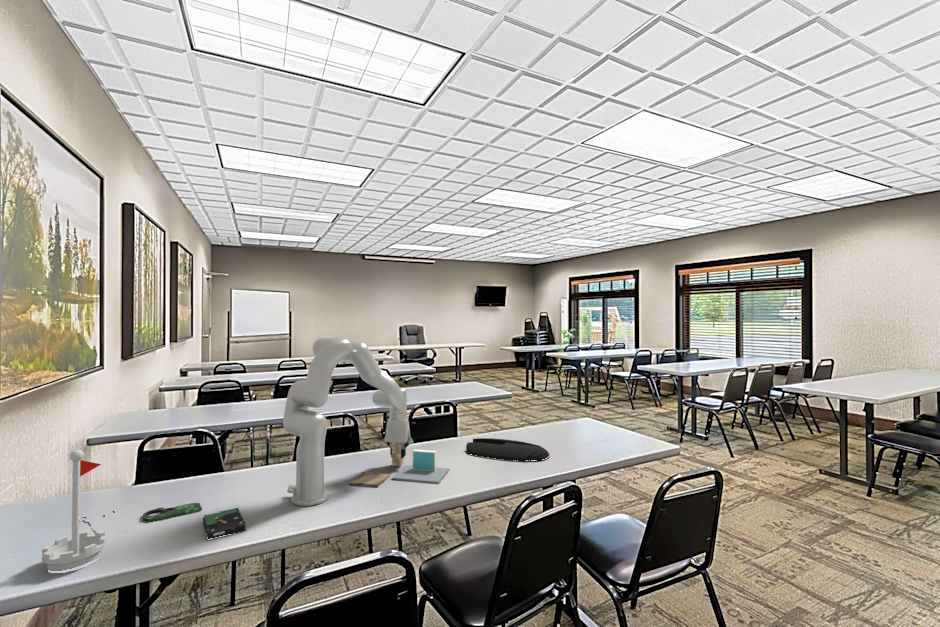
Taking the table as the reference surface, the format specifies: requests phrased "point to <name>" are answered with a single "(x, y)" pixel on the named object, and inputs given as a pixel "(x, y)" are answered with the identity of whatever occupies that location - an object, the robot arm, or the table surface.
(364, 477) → the plate
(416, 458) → the tile
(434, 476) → the mat
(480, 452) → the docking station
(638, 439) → the table surface
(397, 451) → the block
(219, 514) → the disk drive
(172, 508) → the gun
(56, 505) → the table surface
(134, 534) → the table surface
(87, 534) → the flag stand
